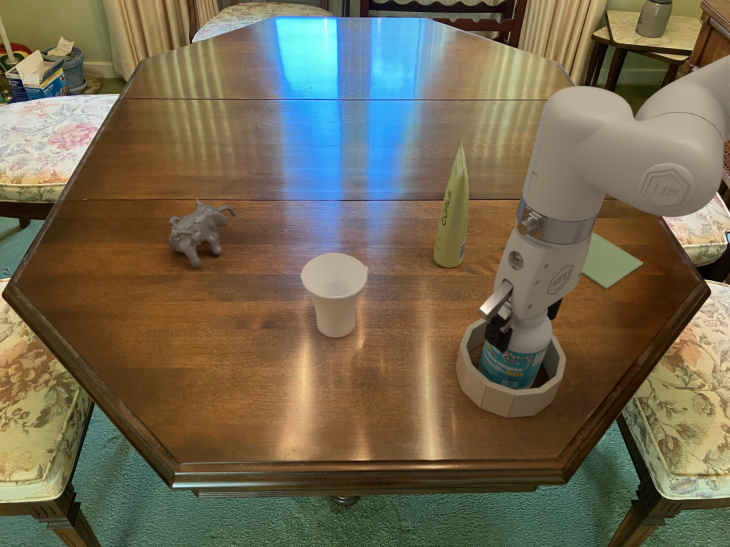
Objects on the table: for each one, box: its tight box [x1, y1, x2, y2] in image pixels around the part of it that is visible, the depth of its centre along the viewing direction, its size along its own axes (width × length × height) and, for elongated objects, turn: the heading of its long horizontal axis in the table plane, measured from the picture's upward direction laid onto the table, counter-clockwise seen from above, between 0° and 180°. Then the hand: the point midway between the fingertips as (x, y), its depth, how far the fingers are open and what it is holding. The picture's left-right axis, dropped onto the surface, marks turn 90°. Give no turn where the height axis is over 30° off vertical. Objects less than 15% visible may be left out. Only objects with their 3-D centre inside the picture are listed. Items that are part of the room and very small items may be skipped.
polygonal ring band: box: [454, 317, 567, 419], centre depth 72 cm, size 13×13×5 cm
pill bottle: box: [477, 297, 553, 390], centre depth 69 cm, size 8×7×14 cm
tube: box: [433, 141, 470, 269], centre depth 84 cm, size 6×5×20 cm
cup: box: [299, 252, 370, 339], centre depth 77 cm, size 9×9×10 cm
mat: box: [581, 231, 644, 290], centre depth 91 cm, size 10×10×1 cm
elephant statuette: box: [168, 198, 237, 269], centre depth 90 cm, size 9×12×8 cm
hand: (520, 328), depth 67 cm, fingers open, 8 cm apart
